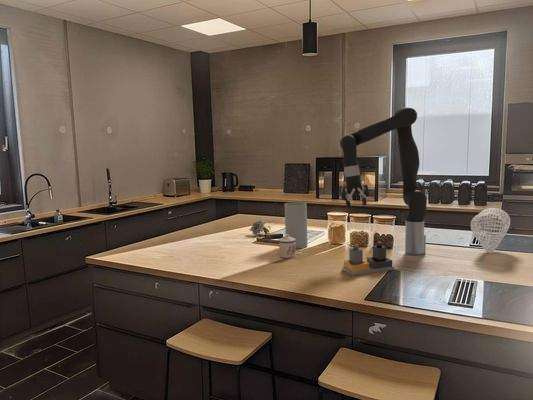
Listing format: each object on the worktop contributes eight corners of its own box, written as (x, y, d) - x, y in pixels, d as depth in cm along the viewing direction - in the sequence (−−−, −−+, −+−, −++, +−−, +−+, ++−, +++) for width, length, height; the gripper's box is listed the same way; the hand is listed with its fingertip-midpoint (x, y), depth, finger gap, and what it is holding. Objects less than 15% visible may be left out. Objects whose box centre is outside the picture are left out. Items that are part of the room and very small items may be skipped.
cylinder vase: (307, 243, 249) (306, 201, 246) (307, 249, 237) (306, 205, 233) (286, 243, 250) (285, 202, 247) (285, 249, 238) (283, 205, 235)
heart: (501, 262, 199) (503, 216, 196) (466, 257, 209) (467, 213, 206) (511, 248, 221) (513, 207, 218) (478, 245, 231) (480, 205, 227)
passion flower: (256, 244, 275) (245, 229, 275) (264, 237, 284) (253, 223, 284) (267, 236, 268) (255, 221, 269) (275, 229, 277) (264, 215, 278)
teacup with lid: (289, 259, 218) (288, 237, 217) (275, 256, 224) (274, 235, 223) (302, 254, 227) (302, 232, 226) (289, 251, 233) (288, 231, 232)
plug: (358, 266, 197) (357, 243, 196) (362, 269, 193) (362, 245, 191) (349, 267, 196) (349, 244, 194) (353, 270, 192) (353, 246, 190)
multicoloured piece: (383, 264, 203) (383, 239, 202) (394, 269, 195) (394, 243, 193) (342, 269, 198) (341, 243, 196) (350, 275, 189) (350, 248, 187)
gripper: (342, 176, 206) (347, 209, 207) (368, 172, 210) (373, 204, 211) (336, 177, 214) (340, 209, 214) (361, 173, 217) (365, 204, 218)
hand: (356, 206), depth 213 cm, fingers open, 8 cm apart
